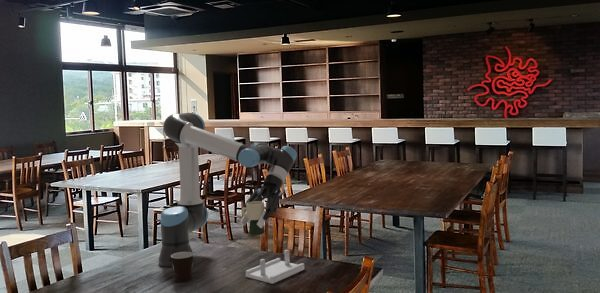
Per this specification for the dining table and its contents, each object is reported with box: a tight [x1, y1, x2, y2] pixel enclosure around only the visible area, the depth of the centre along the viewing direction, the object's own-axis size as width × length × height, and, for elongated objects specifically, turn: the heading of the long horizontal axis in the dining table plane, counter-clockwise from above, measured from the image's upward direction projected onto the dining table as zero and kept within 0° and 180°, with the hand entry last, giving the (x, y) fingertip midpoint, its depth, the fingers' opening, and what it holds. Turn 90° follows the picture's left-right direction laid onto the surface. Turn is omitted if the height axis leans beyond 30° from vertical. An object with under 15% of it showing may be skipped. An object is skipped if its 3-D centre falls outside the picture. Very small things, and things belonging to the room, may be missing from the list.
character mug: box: [241, 201, 266, 236], centre depth 212 cm, size 11×7×13 cm, turn 90°
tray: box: [245, 249, 305, 284], centre depth 214 cm, size 14×20×8 cm
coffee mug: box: [171, 252, 194, 284], centre depth 210 cm, size 12×9×10 cm
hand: (250, 225), depth 209 cm, fingers closed on character mug, 8 cm apart
